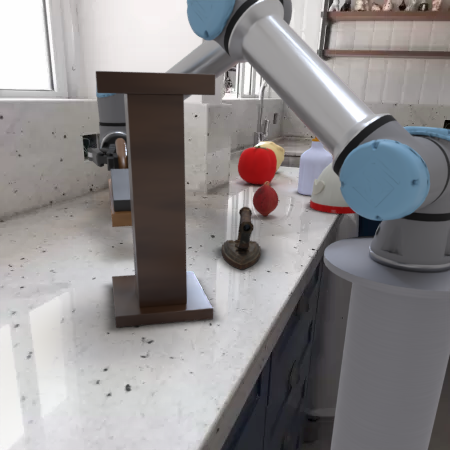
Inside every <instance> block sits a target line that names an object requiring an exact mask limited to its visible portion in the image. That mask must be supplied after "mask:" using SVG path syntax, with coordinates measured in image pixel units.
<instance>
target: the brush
mask: <svg viewBox="0 0 450 450" xmlns="http://www.w3.org/2000/svg"><path fill="white" fill-rule="evenodd" d="M115 146H116V153H117V155H118V163H119V169H110V171H109V172H110V178H108V179H107V182H108V183H107V185H108V195H109V205H110V215H111V216H110V217H111V226H112V228H119V227H120V228H121V227H132V218H131V202H130V185H129V169H128V158H127V150H126V142H125V140H124V139H122V138H118V139H117V140H116V141H115Z"/></svg>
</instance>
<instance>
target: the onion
mask: <svg viewBox="0 0 450 450" xmlns="http://www.w3.org/2000/svg"><path fill="white" fill-rule="evenodd" d="M270 184H271V182H269V181H267V182H265V183H264V184H263V185H261V186H260V187H258V189H256V191H255V192H254V194H253V196H252V205H253V207H254V209H255V210H256V212H257V213H259V214H261V216H262V217H268V216H269V215H270V214H271V213H273V212H274V211H275V210H276V209H277V207H278V205H279V202H280V201H279V196H278V195H279V194H278V192H277V191H276V190H275V189H274V188H273V187H272V186H271V185H270Z"/></svg>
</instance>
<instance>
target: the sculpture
mask: <svg viewBox="0 0 450 450" xmlns="http://www.w3.org/2000/svg"><path fill="white" fill-rule="evenodd" d="M258 145H260V147H266V148H269V149H272V150H273V151H274V152H275V155H276V159H277V168H276V172H278V170H279V169H280V167H281V165H282V163H283V162H284V160H285V153H286V150H285V148H284V147H282V146H280V145H278V144H277V143H275V142H274V141H268V140H266V141H259V143H258V144H255V145H254V146H253V147H255V146H256V147H258Z"/></svg>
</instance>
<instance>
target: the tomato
mask: <svg viewBox="0 0 450 450" xmlns="http://www.w3.org/2000/svg"><path fill="white" fill-rule="evenodd" d="M254 146H255V147H254ZM254 146H251V147H250V146H248V147H246V148H245V149H243V151H242V152H241V154H240V156H239V159H238V164H237V172H238V175H239V177H240V179H242V181H244V182H246V183H248V184H252V185H253V184H254V185H261V186H262V185H263V184H264V183H265V182H267V181H269V182H270V183H271V182H272V181H273V179H274V178H275V176H276V172H277V171H276V168H277V159H276V155H275V152H274V151H273V150H272V149H269V148H266V147H260V145H258V147H256V145H254Z"/></svg>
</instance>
